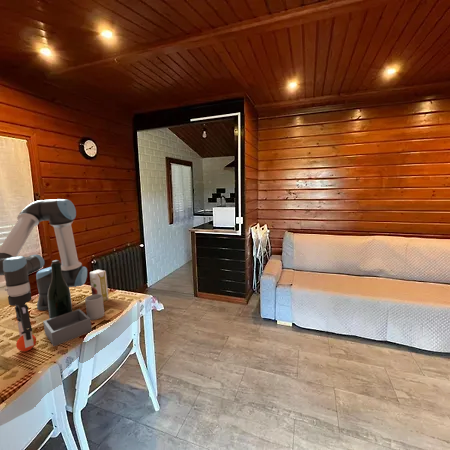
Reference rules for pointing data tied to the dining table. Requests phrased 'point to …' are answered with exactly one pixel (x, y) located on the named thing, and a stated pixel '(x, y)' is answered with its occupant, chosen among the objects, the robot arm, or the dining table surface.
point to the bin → (67, 327)
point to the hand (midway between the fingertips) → (26, 340)
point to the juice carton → (99, 283)
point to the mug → (94, 306)
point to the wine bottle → (58, 293)
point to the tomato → (21, 344)
